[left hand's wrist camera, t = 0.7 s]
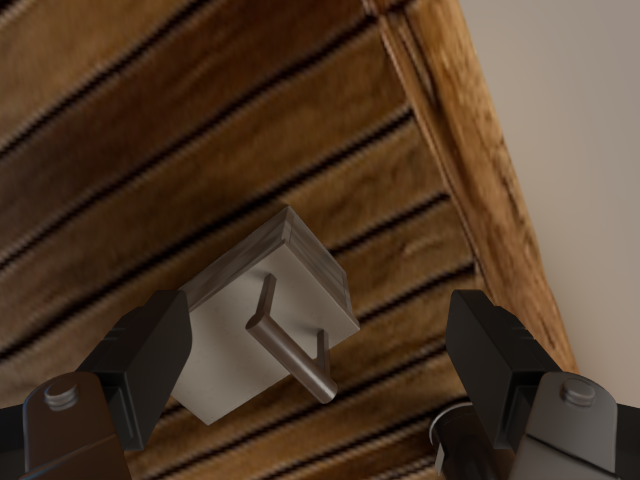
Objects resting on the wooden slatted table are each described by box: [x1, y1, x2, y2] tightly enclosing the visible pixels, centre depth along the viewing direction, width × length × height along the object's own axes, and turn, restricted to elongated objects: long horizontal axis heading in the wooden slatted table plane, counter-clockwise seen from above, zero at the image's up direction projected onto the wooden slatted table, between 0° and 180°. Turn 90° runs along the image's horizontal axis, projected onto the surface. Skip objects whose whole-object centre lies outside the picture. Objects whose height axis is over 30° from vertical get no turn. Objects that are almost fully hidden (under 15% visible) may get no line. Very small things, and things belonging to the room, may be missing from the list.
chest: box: [178, 205, 353, 315], centre depth 37 cm, size 17×10×9 cm, turn 128°
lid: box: [171, 239, 360, 425], centre depth 29 cm, size 17×10×8 cm, turn 128°
